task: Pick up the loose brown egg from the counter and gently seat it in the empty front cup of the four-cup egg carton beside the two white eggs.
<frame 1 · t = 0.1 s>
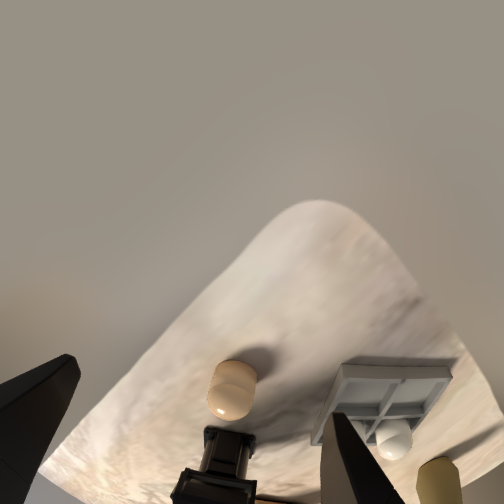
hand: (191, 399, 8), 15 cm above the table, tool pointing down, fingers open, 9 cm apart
egg carton: (377, 405, 27), on the table
squeeze bottle: (433, 463, 33), on the table
stone cup: (273, 502, 42), on the table
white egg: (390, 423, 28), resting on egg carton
brown egg: (235, 375, 27), on the table
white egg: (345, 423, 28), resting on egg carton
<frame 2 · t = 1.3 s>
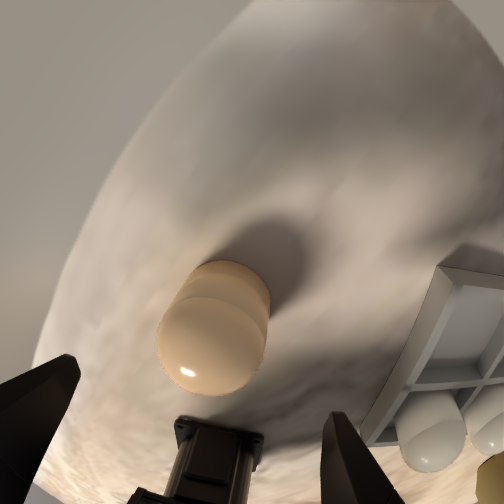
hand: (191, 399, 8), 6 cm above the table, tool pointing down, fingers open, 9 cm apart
egg carton: (472, 364, 14), on the table
squeeze bottle: (494, 457, 20), on the table
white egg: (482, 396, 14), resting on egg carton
brown egg: (226, 300, 14), on the table
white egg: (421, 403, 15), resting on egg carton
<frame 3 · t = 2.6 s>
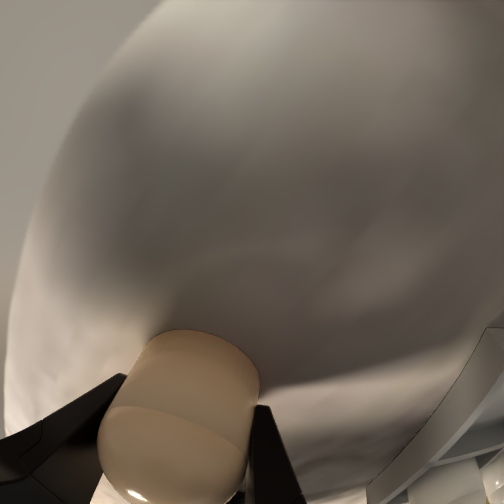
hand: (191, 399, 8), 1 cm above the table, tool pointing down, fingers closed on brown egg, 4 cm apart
egg carton: (500, 419, 9), on the table
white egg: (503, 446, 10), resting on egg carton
brown egg: (198, 377, 9), on the table, touching gripper
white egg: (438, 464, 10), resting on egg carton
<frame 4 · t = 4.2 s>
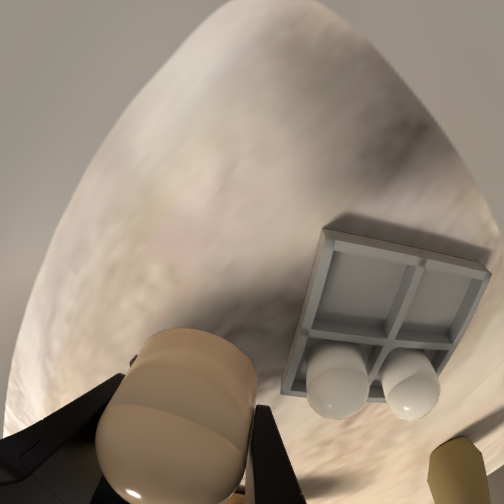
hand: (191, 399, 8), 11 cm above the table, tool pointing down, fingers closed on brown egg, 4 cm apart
egg carton: (383, 327, 19), on the table
squeeze bottle: (448, 446, 26), on the table
stone cup: (241, 494, 34), on the table
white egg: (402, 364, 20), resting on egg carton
brown egg: (197, 375, 9), point 10 cm above the table, touching gripper
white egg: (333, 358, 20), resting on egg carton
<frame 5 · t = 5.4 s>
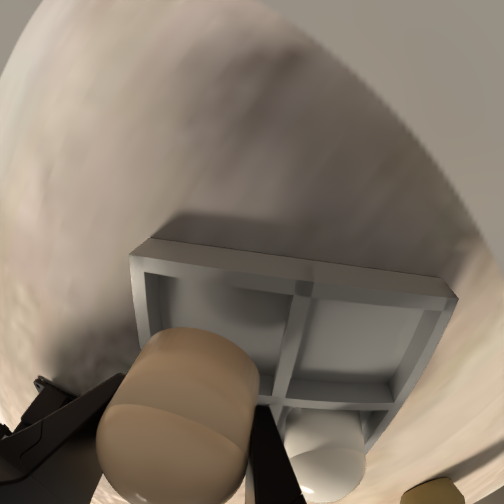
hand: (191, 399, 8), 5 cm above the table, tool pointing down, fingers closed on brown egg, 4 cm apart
egg carton: (279, 374, 14), on the table
squeeze bottle: (425, 486, 20), on the table
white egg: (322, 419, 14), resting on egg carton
brown egg: (198, 375, 9), point 4 cm above the table, touching gripper
when the fingers open (3 cm above the table, at t = 6.2 s): brown egg stays where it is, resting on egg carton.
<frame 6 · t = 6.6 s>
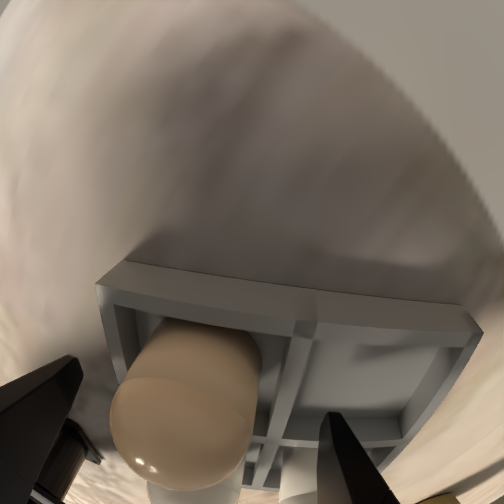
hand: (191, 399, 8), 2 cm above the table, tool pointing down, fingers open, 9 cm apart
egg carton: (275, 408, 12), on the table
squeeze bottle: (427, 501, 18), on the table
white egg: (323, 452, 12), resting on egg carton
brown egg: (205, 357, 10), point 1 cm above the table, touching egg carton
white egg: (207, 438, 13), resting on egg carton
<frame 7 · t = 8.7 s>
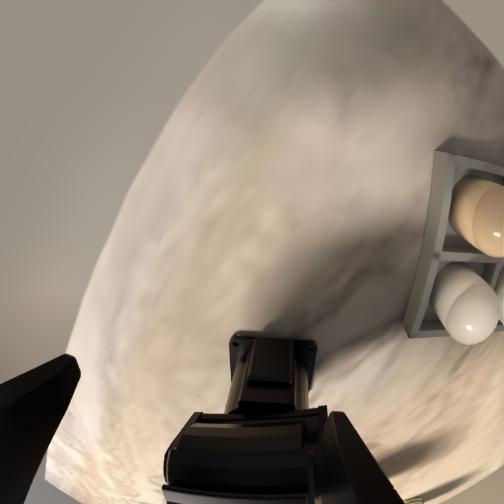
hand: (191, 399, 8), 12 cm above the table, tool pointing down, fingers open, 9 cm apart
egg carton: (487, 249, 17), on the table
brown egg: (470, 206, 15), resting on egg carton
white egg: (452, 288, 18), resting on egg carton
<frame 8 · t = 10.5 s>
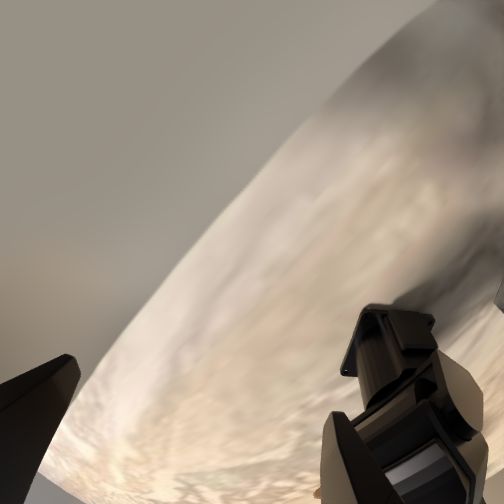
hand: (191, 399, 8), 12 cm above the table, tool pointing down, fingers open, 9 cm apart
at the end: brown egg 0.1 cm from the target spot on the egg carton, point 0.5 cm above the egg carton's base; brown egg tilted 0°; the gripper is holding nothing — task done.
